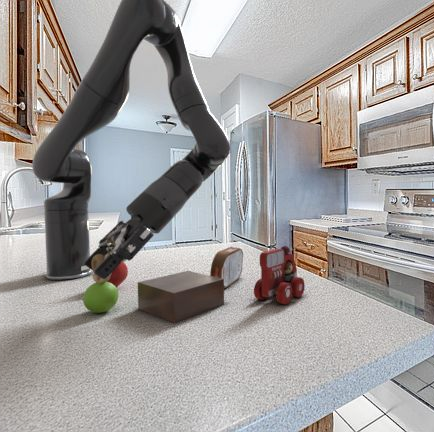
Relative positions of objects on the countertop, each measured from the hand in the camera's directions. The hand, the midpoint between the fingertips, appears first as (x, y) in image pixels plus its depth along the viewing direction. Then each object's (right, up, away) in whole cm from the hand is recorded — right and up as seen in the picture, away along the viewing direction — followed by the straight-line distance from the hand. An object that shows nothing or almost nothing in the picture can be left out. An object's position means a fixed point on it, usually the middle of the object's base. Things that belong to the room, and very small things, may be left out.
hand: (93, 271), depth 53 cm
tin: (+20, -7, +20) cm, 29 cm away
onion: (-5, -7, +15) cm, 18 cm away
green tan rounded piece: (+1, -8, +1) cm, 8 cm away
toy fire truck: (+32, -7, +10) cm, 35 cm away
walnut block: (+14, -7, +4) cm, 17 cm away
